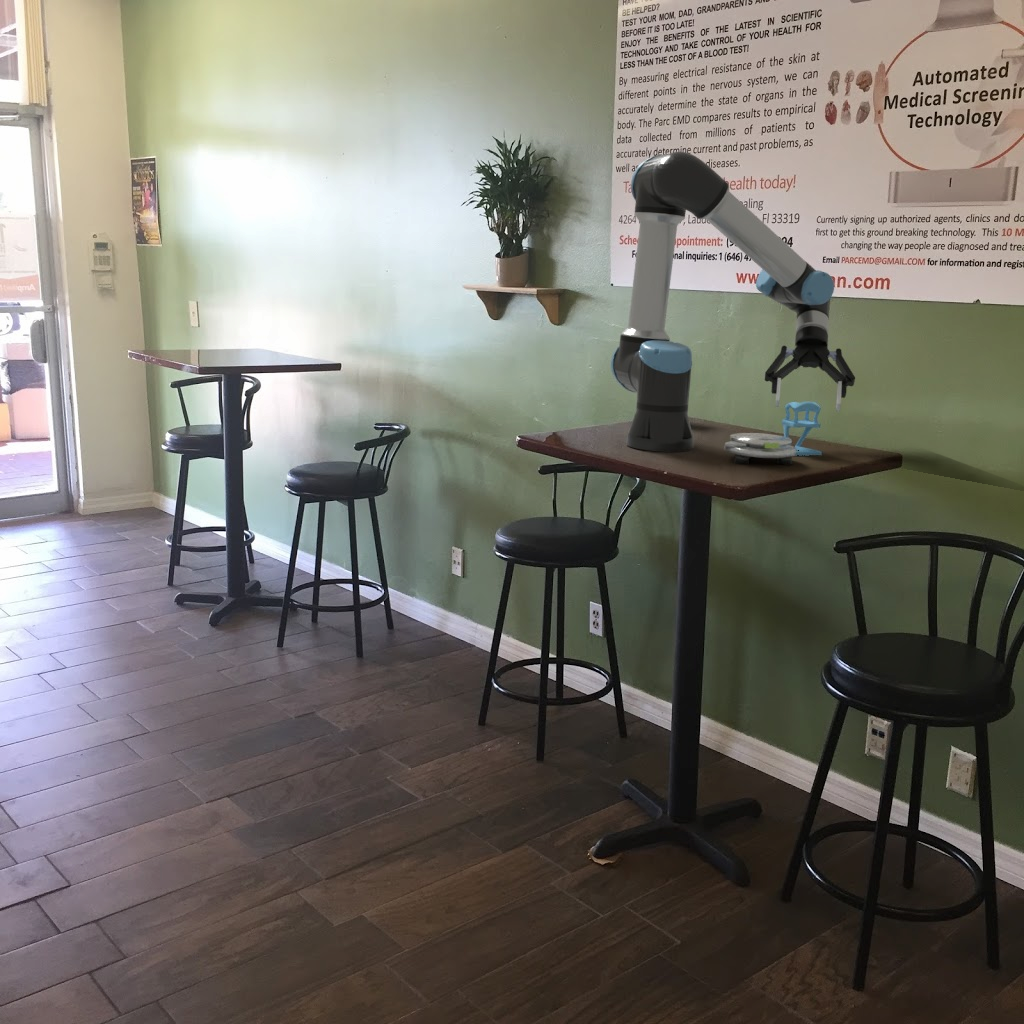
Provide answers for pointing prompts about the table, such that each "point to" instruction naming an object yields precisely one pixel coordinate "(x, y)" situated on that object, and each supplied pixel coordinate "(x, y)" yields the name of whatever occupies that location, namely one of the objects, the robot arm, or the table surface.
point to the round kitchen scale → (760, 447)
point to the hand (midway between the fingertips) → (807, 405)
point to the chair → (802, 424)
